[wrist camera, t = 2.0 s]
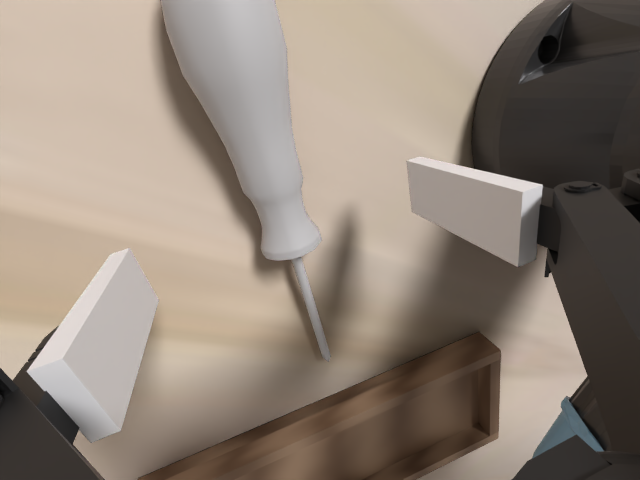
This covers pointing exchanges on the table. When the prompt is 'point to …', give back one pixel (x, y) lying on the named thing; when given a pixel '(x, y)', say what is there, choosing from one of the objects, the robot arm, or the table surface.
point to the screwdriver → (250, 116)
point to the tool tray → (370, 425)
